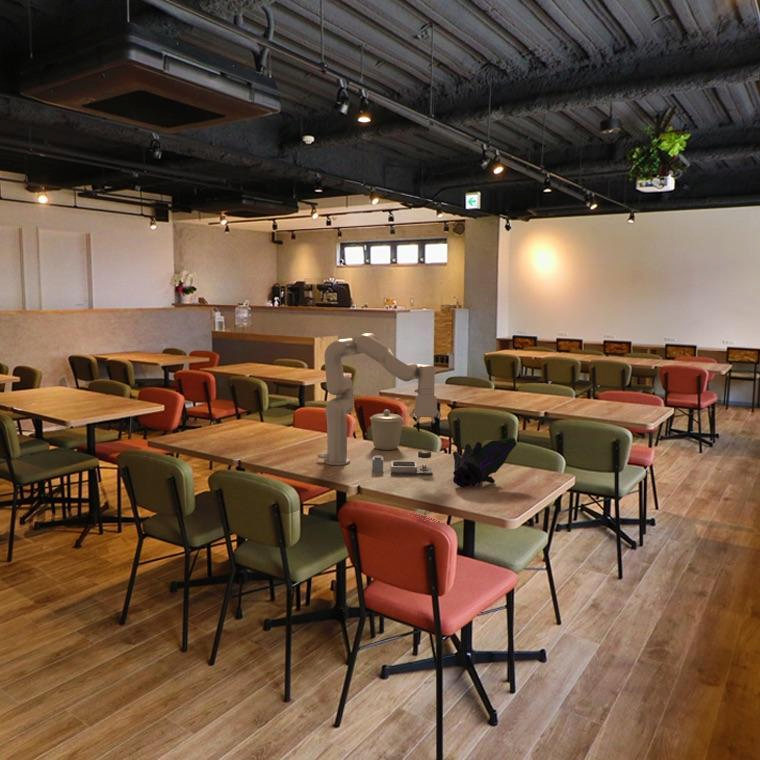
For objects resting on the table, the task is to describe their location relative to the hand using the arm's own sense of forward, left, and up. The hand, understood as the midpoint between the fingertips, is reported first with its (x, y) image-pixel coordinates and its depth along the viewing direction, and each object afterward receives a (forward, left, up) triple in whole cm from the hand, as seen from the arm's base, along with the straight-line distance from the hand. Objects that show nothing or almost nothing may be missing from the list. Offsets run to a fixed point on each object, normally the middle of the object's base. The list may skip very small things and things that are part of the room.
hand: (425, 430), depth 289 cm
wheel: (0, 0, -12) cm, 12 cm away
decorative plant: (+22, -16, -20) cm, 34 cm away
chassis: (-6, 0, -19) cm, 20 cm away
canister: (-18, +46, -20) cm, 53 cm away
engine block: (-22, +1, -20) cm, 29 cm away
